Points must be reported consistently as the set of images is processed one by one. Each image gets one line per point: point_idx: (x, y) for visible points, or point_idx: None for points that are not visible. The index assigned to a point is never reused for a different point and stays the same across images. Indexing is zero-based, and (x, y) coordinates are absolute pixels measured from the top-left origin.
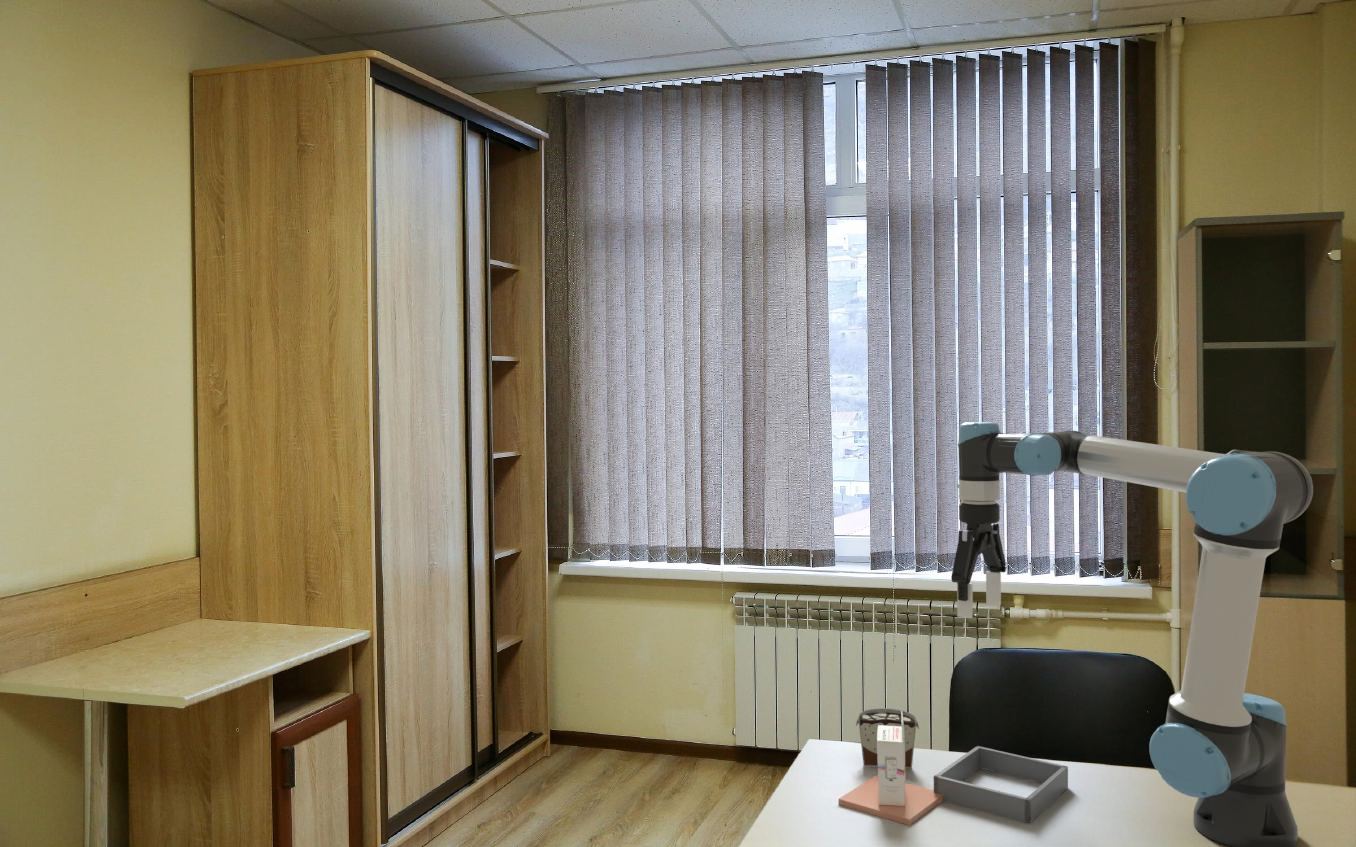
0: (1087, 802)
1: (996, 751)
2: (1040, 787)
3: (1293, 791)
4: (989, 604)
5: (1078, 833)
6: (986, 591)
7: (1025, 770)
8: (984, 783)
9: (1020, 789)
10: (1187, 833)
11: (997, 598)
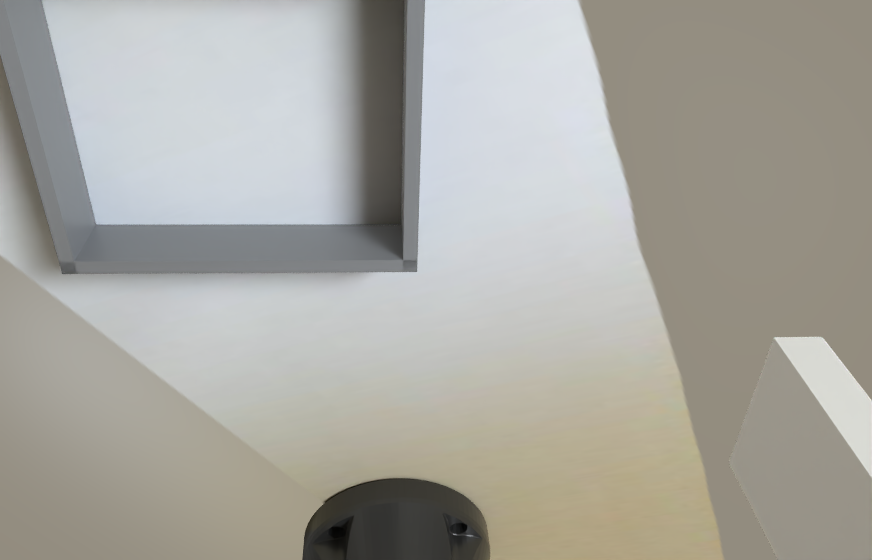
0: (341, 301)
1: (410, 34)
2: (185, 265)
3: (671, 556)
4: (763, 369)
5: (132, 338)
6: (863, 468)
7: (403, 129)
8: (270, 18)
9: (305, 134)
10: (314, 481)
11: (772, 513)
